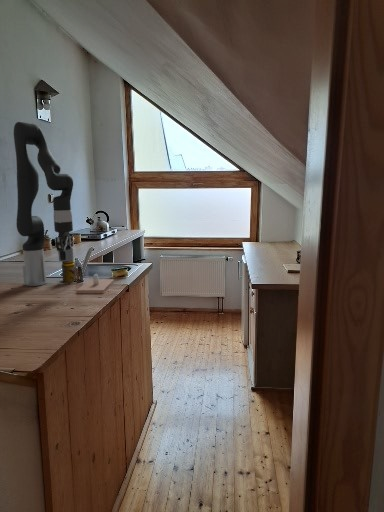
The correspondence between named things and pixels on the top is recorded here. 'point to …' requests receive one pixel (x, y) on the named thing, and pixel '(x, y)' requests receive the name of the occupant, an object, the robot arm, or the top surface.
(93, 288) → the shaft stand
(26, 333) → the top surface
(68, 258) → the hub
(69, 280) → the condiment
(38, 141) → the robot arm
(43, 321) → the top surface
